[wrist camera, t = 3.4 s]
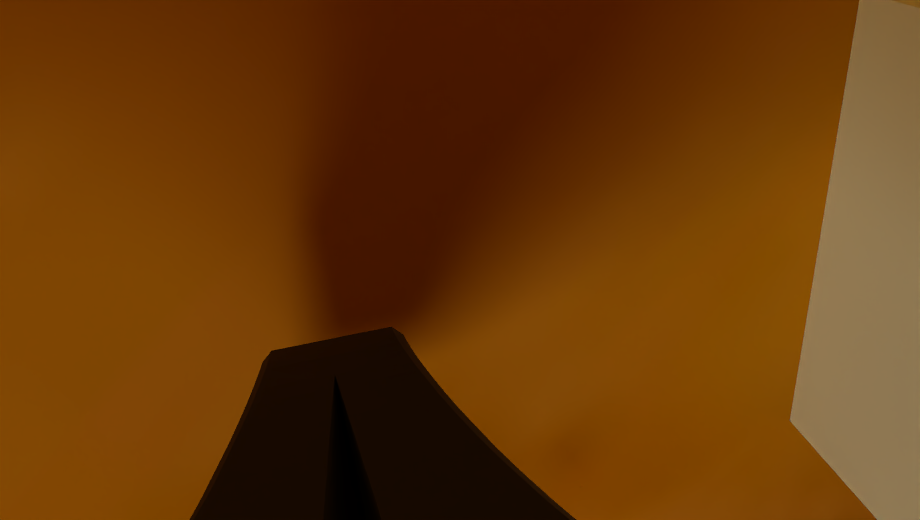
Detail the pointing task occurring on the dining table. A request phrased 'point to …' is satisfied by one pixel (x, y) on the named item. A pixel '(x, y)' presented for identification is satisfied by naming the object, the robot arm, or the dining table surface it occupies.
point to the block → (870, 275)
